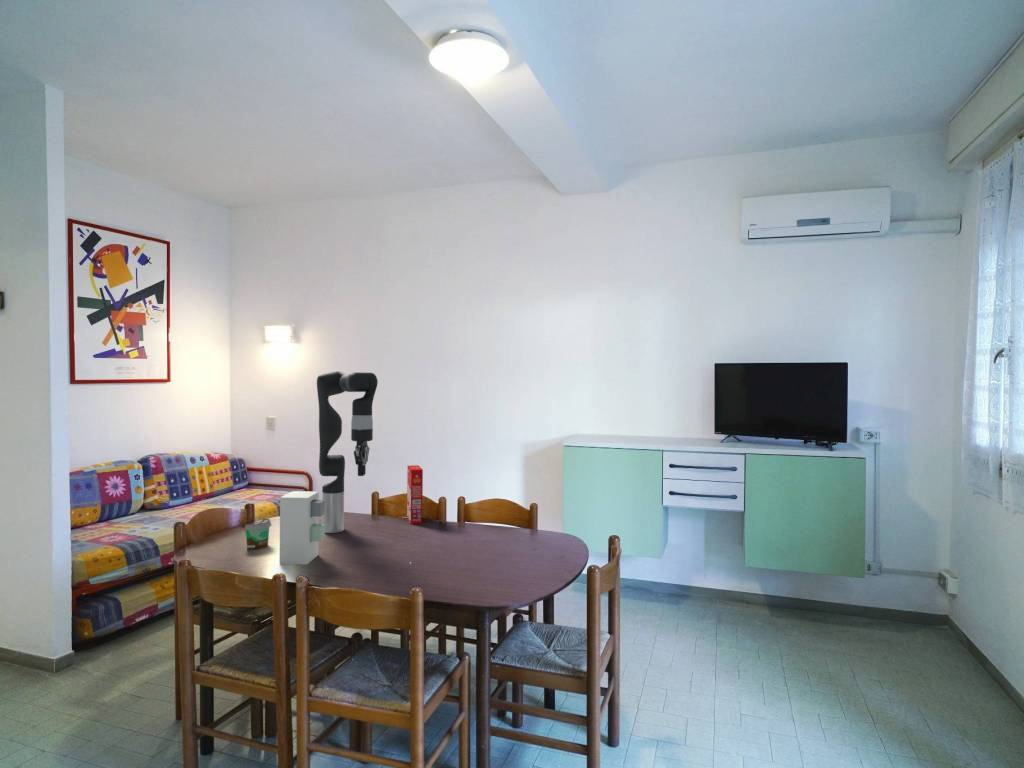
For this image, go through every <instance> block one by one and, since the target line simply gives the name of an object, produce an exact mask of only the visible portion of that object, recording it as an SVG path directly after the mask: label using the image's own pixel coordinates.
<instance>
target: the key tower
mask: <svg viewBox="0 0 1024 768" xmlns="http://www.w3.org/2000/svg"><path fill="white" fill-rule="evenodd" d="M319 493H320V492H319V491H309V490H308V491H301V490H300V491H297V490H296V491H295V490H293V491H290V492H288V493H286V494H284V495H282V496H280V498H279V565H308V564H310V563H311V562H312V561H313V560H314V559H315V558H317V557H318V555H319V541H310V526H312V525H313V524H319V517H314V516H311V501H313V500H320V496H319V495H320V494H319Z"/></svg>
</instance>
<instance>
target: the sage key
mask: <svg viewBox="0 0 1024 768" xmlns="http://www.w3.org/2000/svg"><path fill="white" fill-rule="evenodd" d="M325 536H326V533H325V524H322V523H321V524H320V523H318V524H313V525H312V526H310V541H318V542H321V541H322V540H324V539H325Z"/></svg>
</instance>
